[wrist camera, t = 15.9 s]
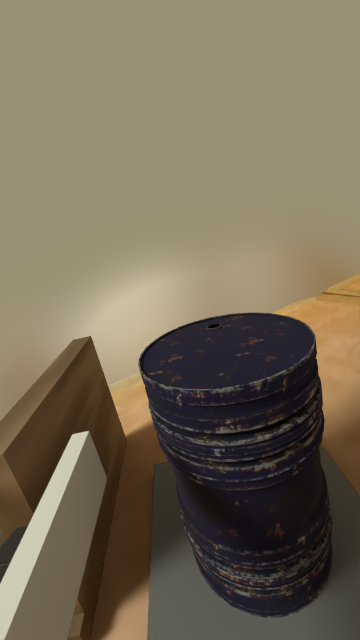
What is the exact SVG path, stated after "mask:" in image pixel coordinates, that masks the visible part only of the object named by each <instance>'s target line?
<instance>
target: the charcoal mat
mask: <svg viewBox="0 0 360 640" xmlns="http://www.w3.org/2000/svg"><path fill="white" fill-rule="evenodd" d="M320 458H321V466H322V468H323V470H324V473H325V476H326V481H327V487H328V495H329V498H330V505H331V514H332V535H331V542H332V566H331V570H330V575H329V578H328V580H327V582H326V584H325V587H324V588H323V590H322V591H321V593H320V594H319V595H318V597H317V598H316V599H315V600H314V601H313V602H312V603H311V604H309V605H308V606H307V607H306V608H304V609H302V610H300V611H299V612H297V613H294V614H291V615H288V616H284V617H276V618H265V617H257V616H253V615H250V614H247V613H244V612H241V611H239V610H237V609H236V608H234V607H232V606H230V605H229V604H227V603H226V602H225V601H224V600H222V599H221V598H220V597H219V596H218V595H217V594H216V593H215V592H214V591H213V590H212V589H211V588H210V587H209V585H208V584H207V582H206V581H205V579H204V578H203V576H202V574H201V572H200V570H199V568H198V566H197V563H196V559H195V556H194V553H193V549H192V547H191V544H190V542H189V540H188V538H187V535H186V532H185V528H184V525H183V521H182V518H181V512H180V505H179V502H178V498H177V492H176V478H175V475H174V471H173V468H172V465H171V463H170V462H166V463H162V464H157V465H154V489H153V513H152V537H151V561H150V586H149V610H148V634H147V640H360V496H359V494H358V493H357V492H356V490H355V489H354V488H353V486H352V485H351V484H350V483H349V481H348V480H347V479H346V477H345V476H344V475H343V473H342V472H341V471H340V469H339V468H338V467H337V465H336V464H335V463H334V461H333V460H332V459H331V458H330V456H329V455H328V454H327V452H326V451H325V450H324V448H323V447H322V446H321V444H320Z"/></svg>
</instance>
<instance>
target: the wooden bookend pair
mask: <svg viewBox="0 0 360 640" xmlns="http://www.w3.org/2000/svg"><path fill="white" fill-rule="evenodd" d="M86 431H89V432H90V435H91V437H92V440H93V443H94V445H95V448H96V450H97V453H98V456H99V458H100V461H101V464H102V466H103V469H104V471H105V474H106V477H107V481H106V485H105V489H104V493H103V497H102V501H101V505H100V509H99V513H98V517H97V521H96V525H95V529H94V533H93V537H92V541H91V545H90V549H89V553H88V557H87V561H86V565H85V569H84V573H83V577H82V581H81V585H80V589H79V593H78V597H77V601H76V605H75V609H74V613H73V617H72V621H71V625H70V629H69V633H68V637H67V640H89V639H90V634H91V628H92V623H93V618H94V612H95V607H96V601H97V596H98V591H99V585H100V580H101V575H102V569H103V564H104V558H105V553H106V548H107V542H108V537H109V531H110V526H111V521H112V515H113V510H114V504H115V499H116V494H117V488H118V483H119V477H120V472H121V467H122V461H123V456H124V450H125V445H126V437H125V434H124V432H123V429H122V426H121V423H120V420H119V417H118V414H117V411H116V408H115V405H114V402H113V399H112V396H111V393H110V391H109V388H108V385H107V382H106V379H105V376H104V373H103V370H102V367H101V364H100V361H99V359H98V355H97V353H96V350H95V347H94V344H93V341H92V338H91V336H89V337H85V338H80V339H76V340H73V341H72V342H71V343H70V344H69V345H68V346H67V348H66V349H65V350H64V351H63V352H62V353H61V354H60V355H59V356H58V357H57V359H56V360H55V361H54V362H53V363H52V364H51V366H50V367H49V368H48V369H47V370H46V371H45V372H44V373H43V374H42V376H41V377H40V378H39V379H38V380H37V381H36V382H35V383H34V384H33V385H32V387H31V388H30V389H29V390H28V391H27V392H26V393H25V395H24V396H23V397H22V398H21V399H20V400H19V401H18V402H17V403H16V405H15V406H14V407H13V408H12V409H11V410H10V411H9V412H8V413H7V415H6V416H5V417H4V418H3V419H2V420H1V421H0V528H1V530H2V532H3V533H4V535H5V537H6V539H8V538H9V537H10V535H11V534H12V533H13V532H14V531H15V529H16V528H19V527H24V526H28V525H29V523H30V521H31V519H32V517H33V515H34V513H35V511H36V509H37V507H38V504H39V502H40V500H41V498H42V496H43V494H44V492H45V490H46V488H47V486H48V484H49V482H50V480H51V478H52V475H53V473H54V471H55V469H56V467H57V465H58V463H59V461H60V459H61V457H62V455H63V453H64V451H65V449H66V446H67V444H68V442H69V440H70V438H71V436H72V434H77V433H81V432H86Z"/></svg>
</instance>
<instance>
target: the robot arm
mask: <svg viewBox="0 0 360 640" xmlns="http://www.w3.org/2000/svg"><path fill="white" fill-rule="evenodd" d="M106 481H107V477H106V474H105V471H104V469H103V466H102V464H101V461H100V458H99V456H98V453H97V450H96V448H95V445H94V443H93V440H92V437H91V435H90V432H89V431H86V432H81V433H77V434H72V436H71V438H70V440H69V442H68V444H67V446H66V449H65V451H64V453H63V455H62V457H61V459H60V461H59V463H58V465H57V467H56V469H55V471H54V473H53V475H52V478H51V480H50V482H49V484H48V486H47V488H46V490H45V492H44V494H43V496H42V498H41V500H40V502H39V504H38V507H37V509H36V511H35V513H34V515H33V517H32V519H31V521H30V523H29V525H28V526H24V527H19V528H16V529H15V531H14V532H13V533H12V534H11V535H10V537H9V538H8V539H7V540H6V541H5V543H4V544H3V545H2V546H1V548H0V640H67V637H68V633H69V629H70V625H71V621H72V617H73V613H74V609H75V605H76V601H77V597H78V593H79V589H80V585H81V581H82V577H83V573H84V569H85V565H86V561H87V557H88V553H89V549H90V545H91V541H92V537H93V533H94V529H95V525H96V521H97V517H98V513H99V509H100V505H101V501H102V497H103V493H104V489H105V485H106Z"/></svg>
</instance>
